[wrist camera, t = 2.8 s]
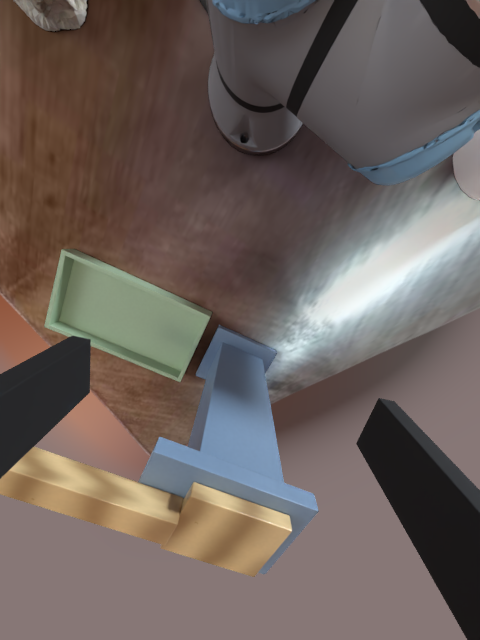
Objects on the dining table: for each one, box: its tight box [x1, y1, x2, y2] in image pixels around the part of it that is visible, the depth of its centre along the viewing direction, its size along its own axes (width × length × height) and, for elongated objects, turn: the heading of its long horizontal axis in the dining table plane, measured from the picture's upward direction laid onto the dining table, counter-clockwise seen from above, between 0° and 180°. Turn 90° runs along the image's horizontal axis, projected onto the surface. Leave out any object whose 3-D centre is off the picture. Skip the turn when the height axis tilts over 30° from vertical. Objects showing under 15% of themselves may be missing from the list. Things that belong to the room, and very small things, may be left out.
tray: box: [44, 249, 212, 382], centre depth 45 cm, size 28×16×3 cm, turn 64°
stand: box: [138, 325, 318, 574], centre depth 34 cm, size 15×12×30 cm
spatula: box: [0, 447, 292, 577], centre depth 19 cm, size 22×7×2 cm, turn 64°
